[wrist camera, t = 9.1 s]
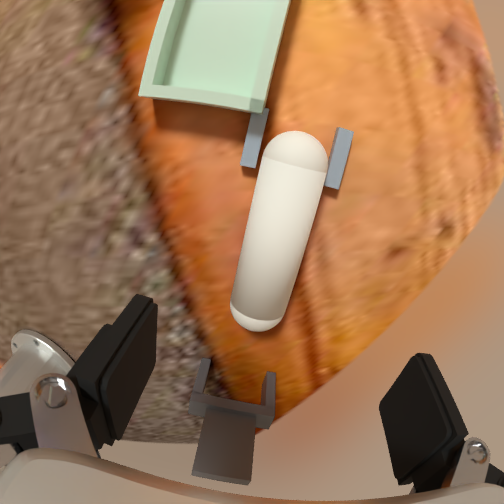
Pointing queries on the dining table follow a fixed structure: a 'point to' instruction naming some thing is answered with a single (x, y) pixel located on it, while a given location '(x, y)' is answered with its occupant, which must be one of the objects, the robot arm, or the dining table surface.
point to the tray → (215, 52)
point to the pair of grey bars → (334, 162)
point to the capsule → (278, 228)
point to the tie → (228, 430)
